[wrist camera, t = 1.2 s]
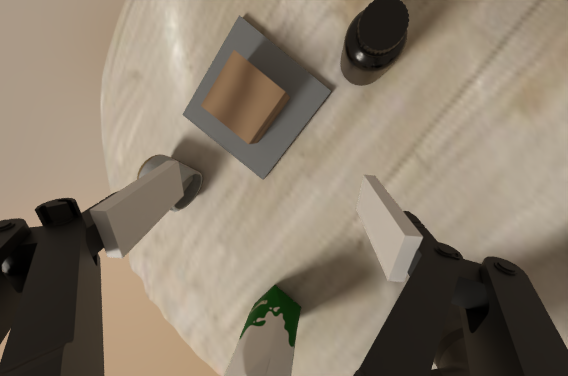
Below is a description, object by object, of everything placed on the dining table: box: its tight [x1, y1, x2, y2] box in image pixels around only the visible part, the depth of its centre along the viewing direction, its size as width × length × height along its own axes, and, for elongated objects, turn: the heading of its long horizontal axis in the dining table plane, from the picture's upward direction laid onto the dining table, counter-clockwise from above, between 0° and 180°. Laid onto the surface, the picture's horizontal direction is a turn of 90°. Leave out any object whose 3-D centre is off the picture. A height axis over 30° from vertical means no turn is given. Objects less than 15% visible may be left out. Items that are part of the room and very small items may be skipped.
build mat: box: [183, 15, 331, 179], centre depth 37 cm, size 18×18×1 cm
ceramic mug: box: [137, 155, 203, 212], centre depth 39 cm, size 11×8×8 cm
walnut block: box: [201, 50, 290, 144], centre depth 34 cm, size 9×9×5 cm
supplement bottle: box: [340, 0, 409, 86], centre depth 28 cm, size 7×7×12 cm
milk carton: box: [224, 285, 301, 376], centre depth 36 cm, size 9×9×20 cm
